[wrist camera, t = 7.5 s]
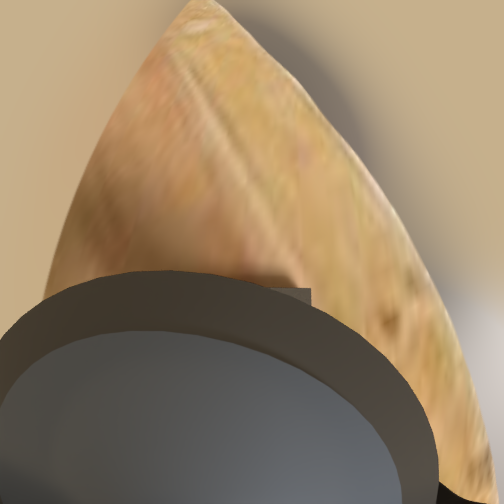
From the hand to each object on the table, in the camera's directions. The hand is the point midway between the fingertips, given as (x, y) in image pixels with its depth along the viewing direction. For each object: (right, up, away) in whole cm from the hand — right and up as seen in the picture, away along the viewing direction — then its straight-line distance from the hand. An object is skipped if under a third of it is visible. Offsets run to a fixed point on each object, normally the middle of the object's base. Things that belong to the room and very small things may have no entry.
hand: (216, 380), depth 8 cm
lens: (0, -3, +6) cm, 7 cm away
